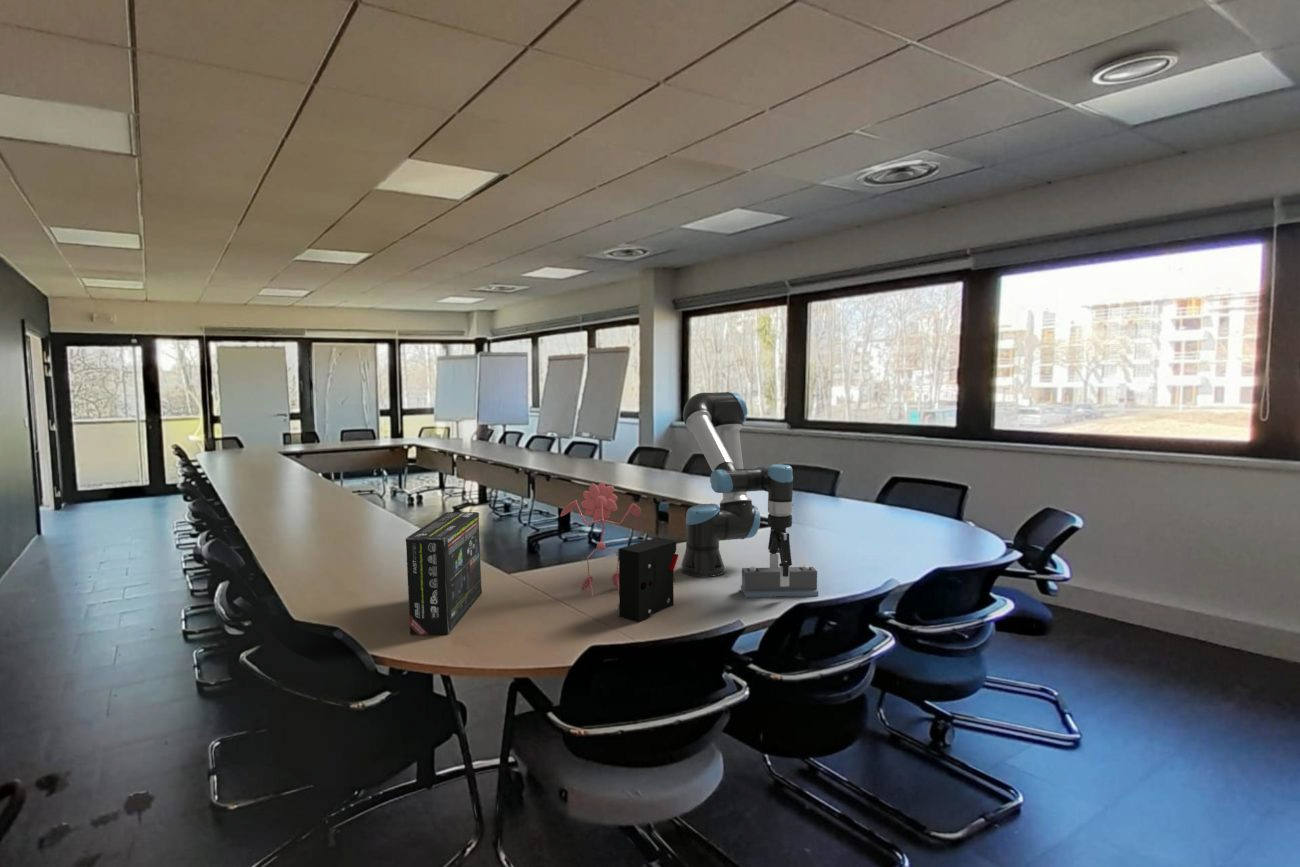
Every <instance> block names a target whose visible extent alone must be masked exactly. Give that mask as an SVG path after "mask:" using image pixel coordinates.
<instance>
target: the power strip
mask: <svg viewBox="0 0 1300 867" xmlns="http://www.w3.org/2000/svg"><path fill="white" fill-rule="evenodd" d="M802 567H803V566H790V568H789V586H783V587H781V586H780V566H778V567H773V568H770V567H755V568H756V572H750V571H749V569H750V567H742V568H741V585H742V587H743V589H744V591H780V590H818V571H817V569H816V568H814V567H813V566H808V567H809V571H803V570H802Z"/></svg>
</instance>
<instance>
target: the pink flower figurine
mask: <svg viewBox="0 0 1300 867" xmlns="http://www.w3.org/2000/svg"><path fill="white" fill-rule="evenodd" d="M614 491H615V487H614V486H613V485H607V486H606V483H605V482H600V483H599V484H598V485H596V484H595V483H593V482H592V483H591V484H590V485H589V489H588V491H587V490H584V491H583V492H582V495H583V498H584V500H582V501H581V503H580V506H581V507H582V508H584V509H585V510H584V514H583V513H582V511H581V508H580V506H579V504H578V500H577V499H575V500H574V501H571V502H569V503H568V504H566V506H565V507H564V508H563V509H562V510H561V513H560V517H561V518H562V517H564V516H566V515H567V514H569V513H570V512H571V511H572V510H573V509H574V508H575V507H577V510H578V512H579V514H580V516H581V518H582V521H583V523H584V525H586V526H587V525H590V524H594V523H599V522H600V523H601V524H602V529H601V536H600V540H599V542H598V543H597V545H596V548H594V549H593V551H592V552H591V553H590V554H589V555H588V556H587V558H586V560H587V561H586V562H587V577H586V578H585V579H584V581H583V582H582V583H581V584H576V585H574V586H572V587H570V588H569V590H571V589H573V588H575V587H577V586H581V591H582V592H585V591H586V590H587V589H588V588H589V589H590V596H591V597H593V596H594V594H593V593H594V592H593V585H592V584H593V583H596V581H594V582H593V579H594V576H593V575H590V566H589V563H590V562H589V558H590V557H591V556H592V554H594V552H596V551H597V550H598V551H604V550H605V549H607V550H609V551H612V552H614V553H615V554H616V552H617V550H616V551H615V550H613V549H611V548H609V547H607V546H606V544H605V543H604V542H603V541H602V540H603V538H604V537H603V536H604V531H605V528H606V527H605V525H606V524H605V523H609V524H614V525H618V526H621V524H622V523H623V522H624V521H625V519H626V517H627V516H628V514H629V513H630V514H632V515H633V516H634V517H636V518H639V517H640V515H641V513H642V509H641V507H640V506H638V505H637V504H635V503H634V502H633V503H631V504H630V505H629V507H628V510H627V511H626V513H625V514H624V515H623V518H621V521H620V522H615V521H611V520H608V519H609V518H610V516H611V512H616V511H618V506H617V503H616V502H617V501H618V499H619V498H618V496H617V495H616V494H615V493H614ZM584 516H586V517H591V516H592V519H593V520H592V521H589V522H586V519H585V518H584ZM611 582H612V583H613V585H615V586H616V587H617V590H618V592H619V561H618V560H617V563H616V572H615V573H613V574H612V577H611Z"/></svg>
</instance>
